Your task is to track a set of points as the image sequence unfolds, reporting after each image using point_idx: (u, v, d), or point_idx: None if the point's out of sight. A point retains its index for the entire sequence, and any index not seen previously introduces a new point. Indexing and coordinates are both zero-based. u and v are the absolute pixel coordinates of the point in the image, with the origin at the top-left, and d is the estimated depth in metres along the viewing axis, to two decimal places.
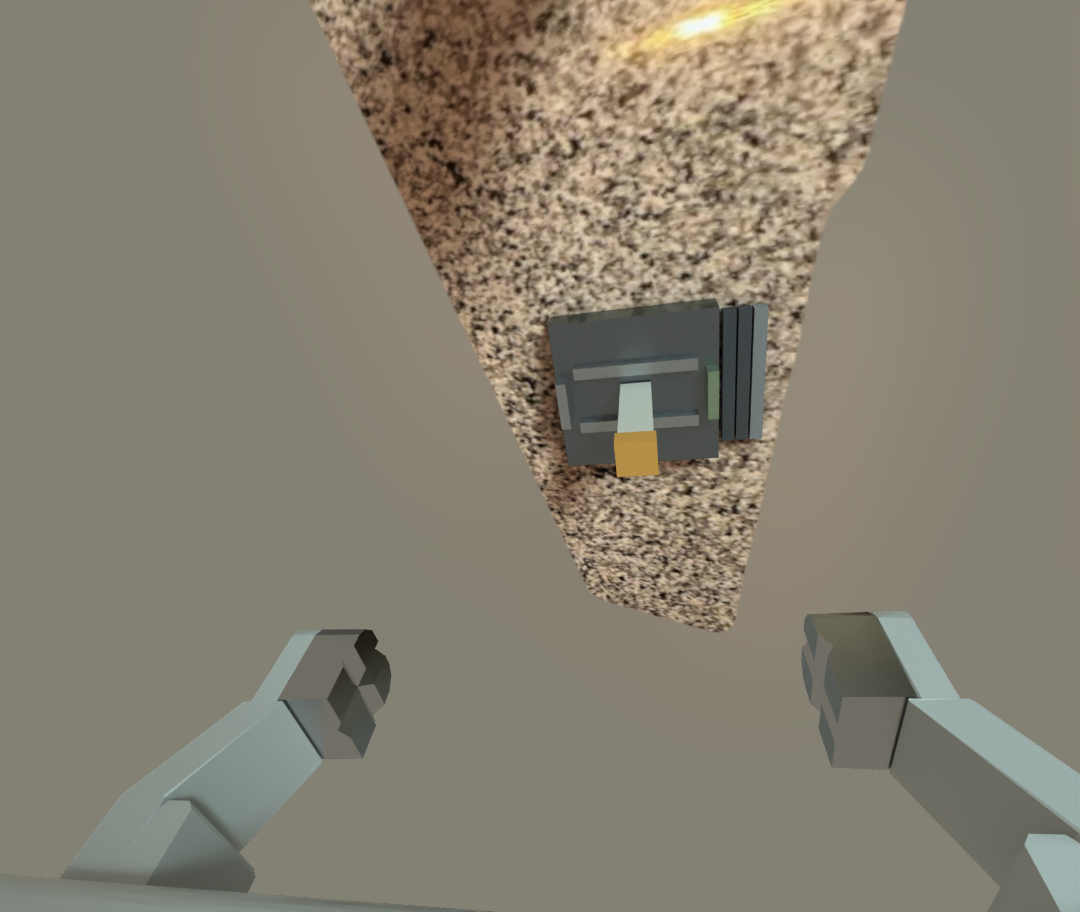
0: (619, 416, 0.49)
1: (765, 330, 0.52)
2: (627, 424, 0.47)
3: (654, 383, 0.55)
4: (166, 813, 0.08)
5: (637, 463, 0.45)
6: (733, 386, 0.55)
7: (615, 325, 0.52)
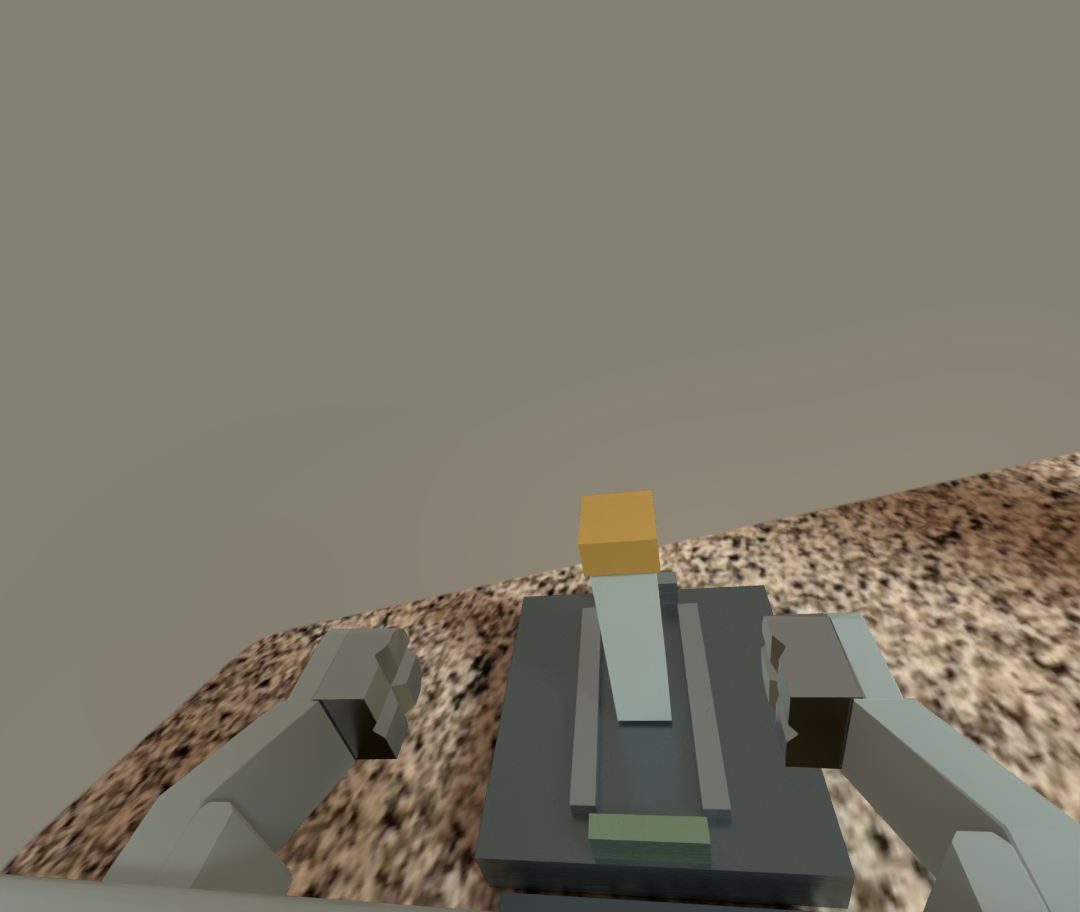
0: None
1: None
2: None
3: (666, 731, 0.28)
4: (207, 816, 0.08)
5: (607, 517, 0.24)
6: None
7: None
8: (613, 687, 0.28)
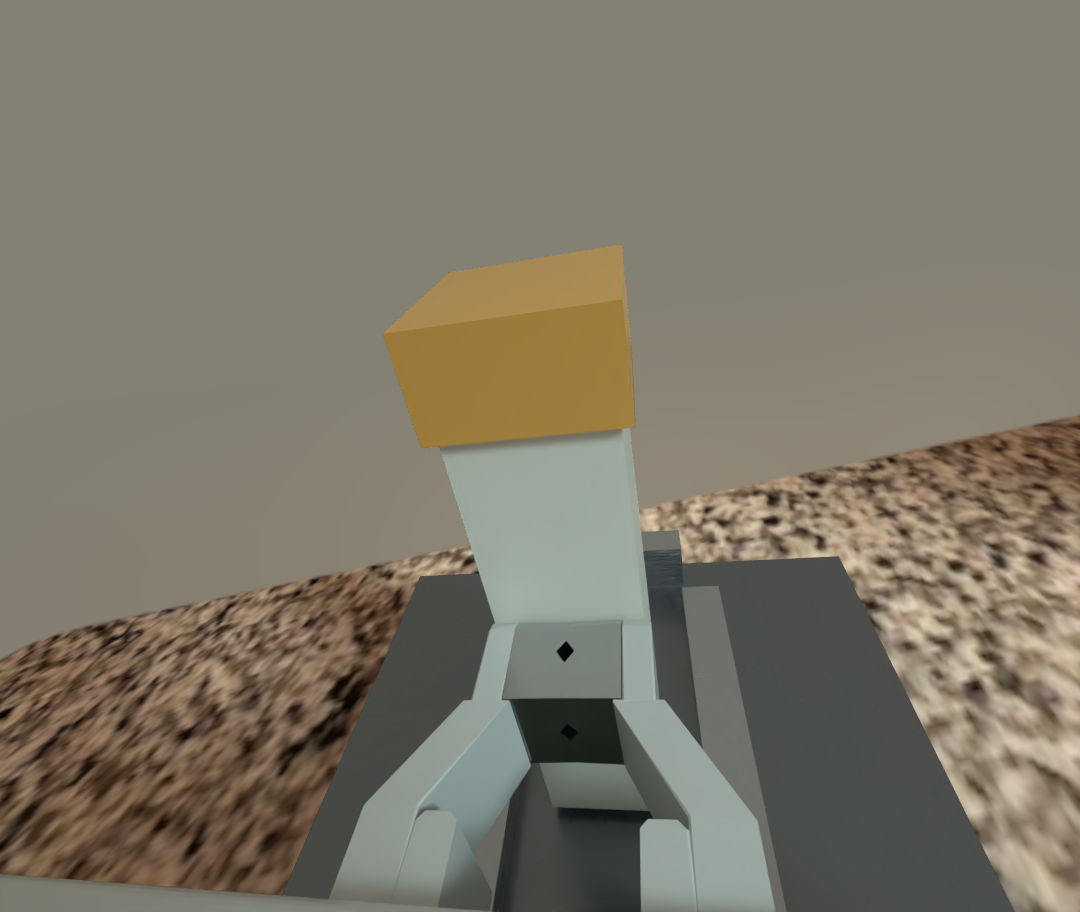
0: (636, 498, 0.12)
1: None
2: (630, 450, 0.11)
3: None
4: (429, 825, 0.07)
5: (490, 288, 0.09)
6: None
7: (895, 728, 0.14)
8: None
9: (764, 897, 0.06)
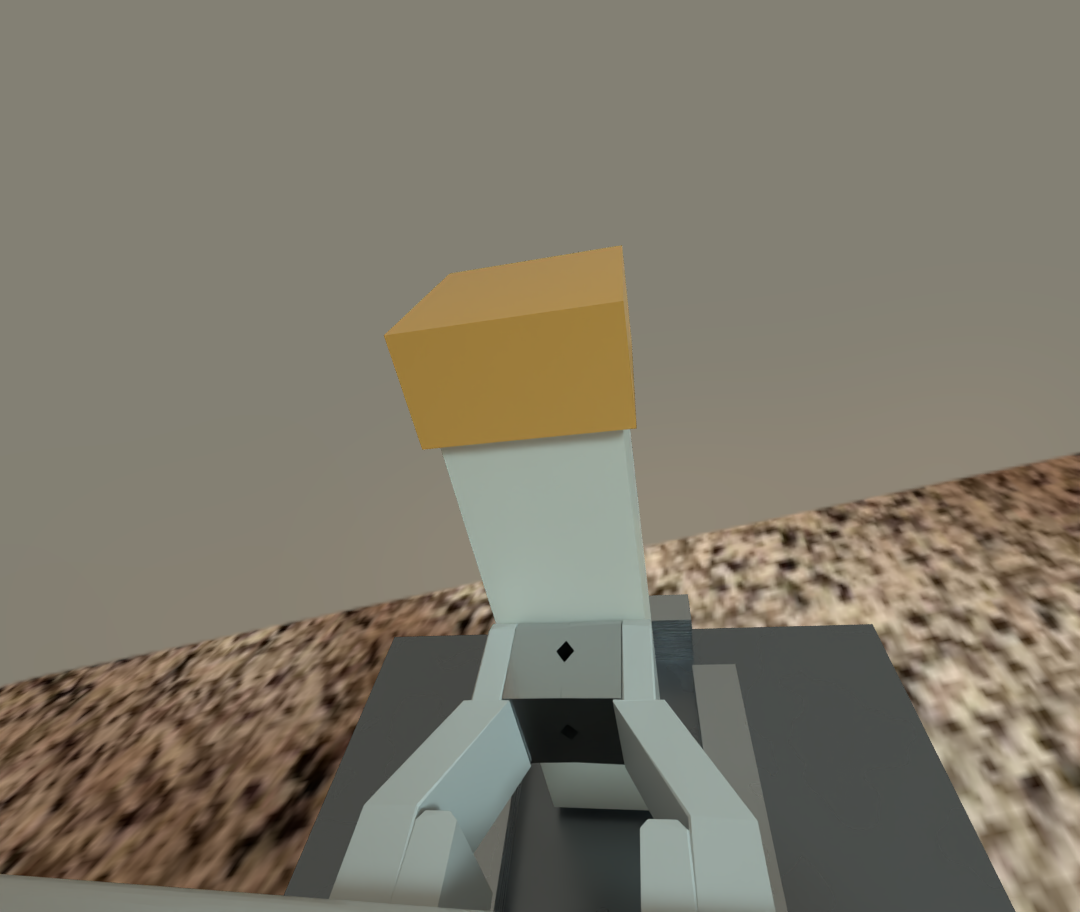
0: (637, 498, 0.12)
1: None
2: (631, 450, 0.11)
3: None
4: (429, 825, 0.07)
5: (491, 289, 0.09)
6: None
7: (958, 867, 0.12)
8: None
9: (764, 897, 0.06)
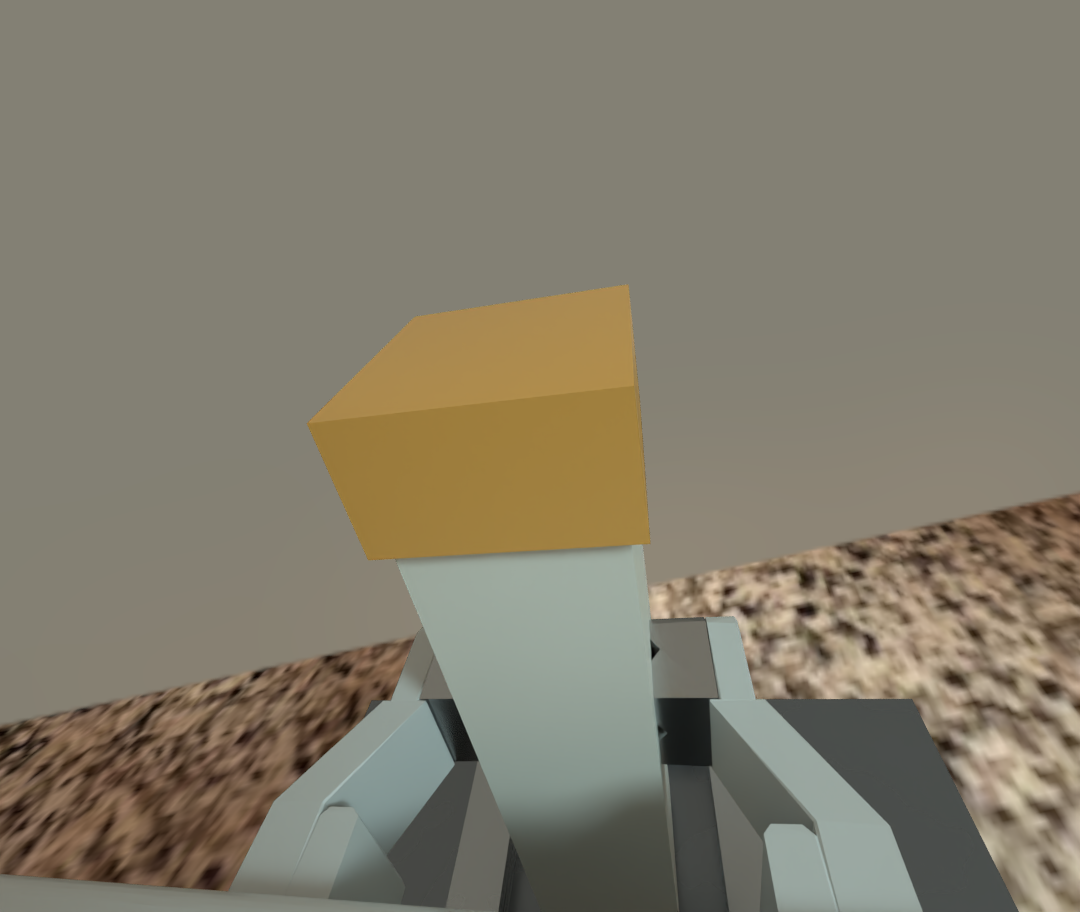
0: (645, 577, 0.10)
1: None
2: None
3: None
4: (332, 820, 0.07)
5: (459, 348, 0.07)
6: None
7: None
8: (527, 865, 0.10)
9: (911, 907, 0.06)
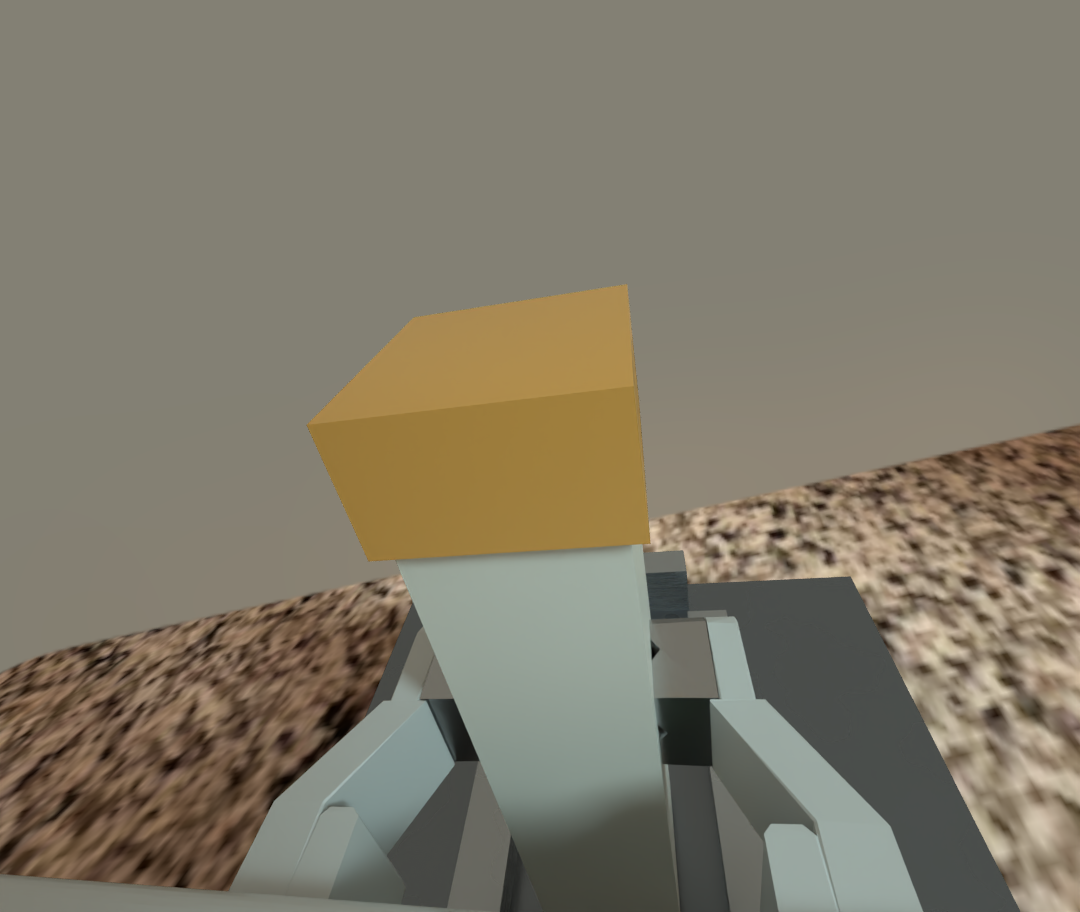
0: (645, 576, 0.10)
1: None
2: None
3: None
4: (331, 821, 0.07)
5: (459, 349, 0.07)
6: None
7: (916, 768, 0.13)
8: (528, 864, 0.10)
9: (911, 906, 0.06)
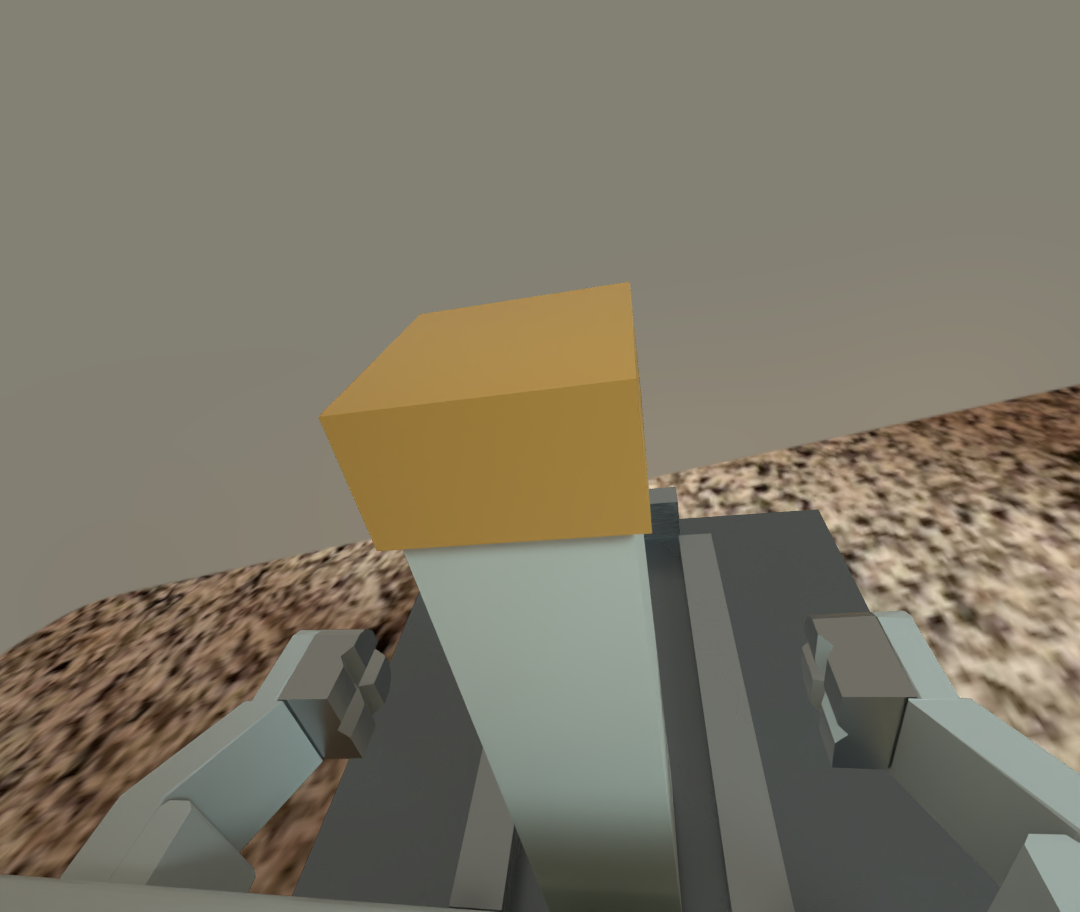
0: (647, 570, 0.10)
1: None
2: None
3: None
4: (166, 813, 0.08)
5: (465, 344, 0.07)
6: None
7: None
8: (531, 854, 0.11)
9: None
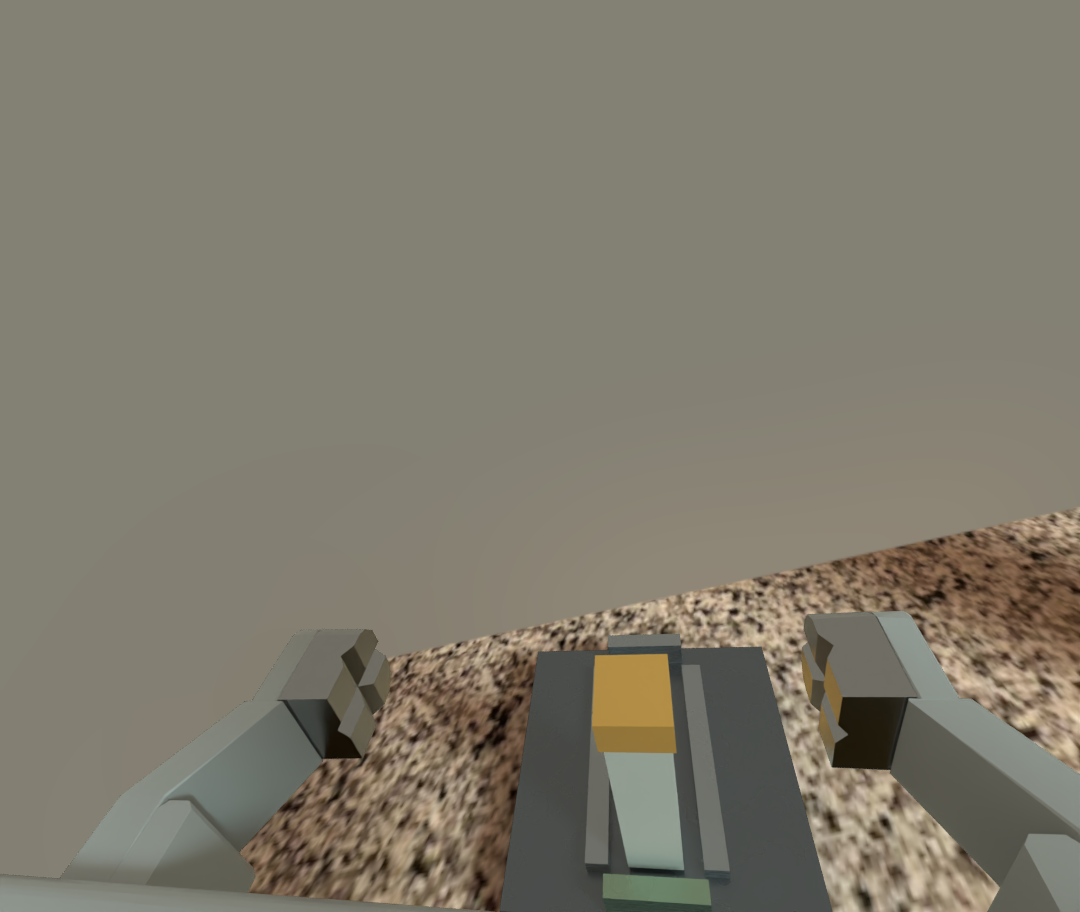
0: None
1: None
2: None
3: None
4: (166, 814, 0.08)
5: (621, 689, 0.23)
6: None
7: (773, 736, 0.33)
8: (624, 840, 0.27)
9: None
